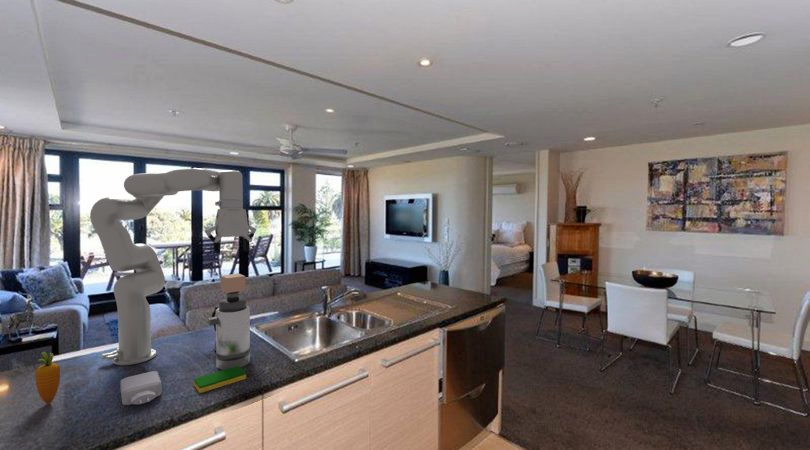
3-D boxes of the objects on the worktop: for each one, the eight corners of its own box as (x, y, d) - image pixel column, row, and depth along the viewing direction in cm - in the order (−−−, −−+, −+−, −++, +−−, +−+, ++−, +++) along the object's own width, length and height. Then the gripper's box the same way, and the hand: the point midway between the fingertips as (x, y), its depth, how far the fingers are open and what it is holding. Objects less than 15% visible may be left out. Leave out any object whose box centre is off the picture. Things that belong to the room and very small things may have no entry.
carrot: (62, 403, 100) (60, 352, 99) (36, 411, 96) (34, 357, 96) (60, 397, 103) (58, 347, 103) (35, 404, 100) (34, 352, 99)
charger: (123, 416, 95) (120, 394, 106) (164, 404, 101) (157, 384, 112) (123, 399, 95) (120, 378, 106) (164, 388, 101) (157, 369, 112)
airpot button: (227, 293, 122) (227, 278, 122) (220, 290, 126) (220, 275, 126) (245, 290, 127) (245, 275, 126) (238, 287, 131) (238, 273, 131)
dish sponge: (246, 379, 117) (246, 372, 117) (199, 394, 107) (199, 386, 107) (238, 372, 122) (238, 365, 122) (193, 385, 112) (193, 378, 112)
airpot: (215, 375, 118) (214, 296, 117) (204, 364, 126) (203, 290, 125) (255, 363, 128) (255, 289, 127) (242, 353, 136) (242, 284, 134)
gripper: (207, 204, 118) (208, 255, 119) (259, 205, 130) (260, 251, 131) (201, 204, 124) (202, 253, 124) (251, 205, 136) (252, 249, 137)
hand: (232, 252), depth 128 cm, fingers open, 9 cm apart
